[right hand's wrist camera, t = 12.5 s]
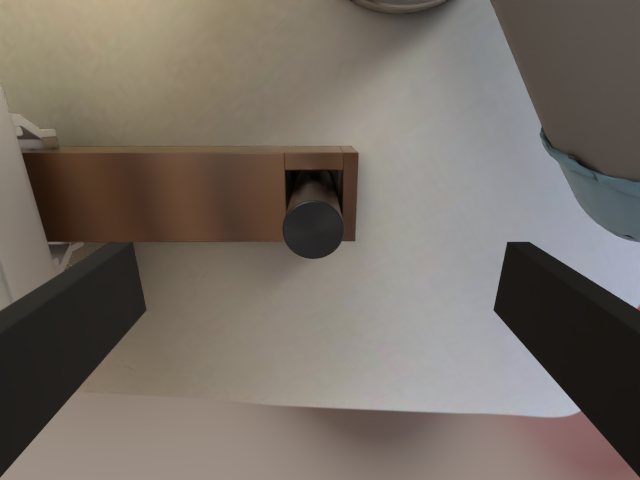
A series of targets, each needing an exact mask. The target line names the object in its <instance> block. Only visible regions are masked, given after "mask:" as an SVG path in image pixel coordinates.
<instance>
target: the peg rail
mask: <svg viewBox="0 0 640 480" xmlns="http://www.w3.org/2000/svg"><path fill="white" fill-rule="evenodd" d="M21 153H22V156H23V160H24V163H25V167H26V170H27V174H28V177H29V180H30V184H31V187H32V191H33V194H34V198H35V201H36V205H37V208H38V211H39V215H40V218H41V222H42V225H43V229H44V232H45V236H46V239H47V242H231V241H285V240H284V237H283V231H282V229H283V222H284V219H285V215H286V212H287V209H288V206H289V202H290V199H291V170H339V189H338V202H339V207H340V211H341V215H342V219H343V223H344V236H343V239H342V241H355V232H356V205H357V178H358V152H357V151H356V150H355V149H354V148H353V147H352V146H59V149H52V150H21Z"/></svg>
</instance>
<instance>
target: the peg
mask: <svg viewBox="0 0 640 480" xmlns="http://www.w3.org/2000/svg"><path fill="white" fill-rule="evenodd" d="M282 231H283V237H284V240H285V242H286V244H287V245H288V247H289V248H290V249H291V250H292V251H293V252H294V253H296V254H298V255H299V256H302V257H305V258H309V259H317V258H322V257H325V256H327V255H329V254H331V253H332V252H334V251H335V250H336V249H337V248H338V246H339V245H340V243H341V242H342V239H343V236H344V223H343V219H342V215H341V211H340V207H339V202H338V198H337V194H336V190H335V186H334V182H333V179H332V176H331V175H330V173H329V172H328V171H327V170H303V171H302V172H301V173H300V174H299V175H298V177H297V180H296V183H295V186H294V190H293V193H292V196H291V199H290V202H289V206H288V209H287V212H286V215H285V219H284V222H283V229H282Z"/></svg>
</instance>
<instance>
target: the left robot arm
mask: <svg viewBox="0 0 640 480" xmlns="http://www.w3.org/2000/svg"><path fill="white" fill-rule="evenodd" d="M52 149H59V144H58V140H57V136H56V132H55V129H39V128H38V127H37V126H35V125H34V124H32V123H31V122H29V121H28V120H27V119H25V118H24V117H22V116H21V115H19V114H18V113H10V111H9V108H8V104H7V101H6V98H5V94H4V91H3V87H2V84H1V80H0V311H1V310H2V309H4V308H6V307H7V306H9V305H10V304H12V303H14V302H15V301H17V300H18V299H20V298H22V297H23V296H25V295H26V294H28V293H30V292H31V291H33V290H34V289H36V288H38V287H39V286H41V285H42V284H44V283H46V282H47V281H49V280H51V279H52V278H54V277H55V276H57V275H59V274H60V273H62V272H63V271H64V270H65V268H66V266H67V264H68V262H69V260H70V258H71V255H72V252H73V251H74V250H76V249H78V248H80V247H81V246H83V245H84V243H83V242H47V239H46V236H45V232H44V229H43V225H42V222H41V218H40V215H39V211H38V208H37V205H36V201H35V198H34V194H33V191H32V187H31V184H30V180H29V177H28V174H27V170H26V167H25V163H24V160H23V156H22V153H21V150H52Z"/></svg>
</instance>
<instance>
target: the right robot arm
mask: <svg viewBox="0 0 640 480" xmlns="http://www.w3.org/2000/svg"><path fill="white" fill-rule="evenodd" d="M351 1H353V2H354V3H356V4H358V5H360V6H363V7H365V8H368V9H371V10H374V11H378V12H384V13H393V14H403V13H413V12H419V11H422V10H426V9H429V8H432V7H434V6H437V5H439V4H441V3H443V2H445V1H447V0H351ZM490 1H491V3H492V6H493V8H494V10H495V13H496V15H497V17H498V20H499V22H500V25H501V27H502V30H503V32H504V35H505V37H506V39H507V42H508V44H509V47H510V49H511V52H512V54H513V56H514V59H515V61H516V64H517V66H518V69H519V71H520V74H521V76H522V78H523V81H524V83H525V86H526V88H527V91H528V93H529V95H530V98H531V100H532V103H533V105H534V108H535V110H536V113H537V115H538V117H539V120H540V122H541V125H542V128H541V132H540V137H541V140H542V143H543V145H544V147H545V149H546V150H547V152H548V153H549V154H550V156H552V157H553V158H554V159H555V160H556V161H558V163H559V165H560V167H561V169H562V171H563V173H564V175H565V177H566V179H567V181H568V183H569V185H570V187H571V189H572V191H573V193H574V195H575V197H576V199H577V201H578V203H579V204H580V206H581V207H582V208H583V210H584V211H585V212H586V213H587V214H588V215H589V216H590V217H591V218H592V219H593V220H594V221H595V222H596V223H598V224H599V225H601V226H602V227H603V228H605V229H606V230H608V231H609V232H611V233H613V234H614V235H616V236H619V237H621V238H624V239H627V240H630V241H636V242H640V0H490ZM145 311H146V306H145V301H144V296H143V291H142V286H141V281H140V276H139V271H138V266H137V261H136V256H135V251H134V246H133V242H110V243H108V244H107V245H105V246H103V247H102V248H100V249H99V250H97V251H95V252H94V253H92V254H91V255H89V256H87V257H86V258H84V259H83V260H81V261H79V262H78V263H76V264H75V265H73V266H71V267H70V268H68V269H67V270H65V271H63V272H62V273H60V274H59V275H57V276H55V277H54V278H52V279H51V280H49V281H47V282H46V283H44V284H42V285H41V286H39V287H38V288H36V289H34V290H33V291H31V292H30V293H28V294H26V295H25V296H23V297H22V298H20V299H18V300H17V301H15V302H14V303H12V304H10V305H9V306H7V307H6V308H4V309H2V310H1V311H0V477H1V476H2V475H3V474H4V472H5V471H6V470H7V469H8V468H9V467H10V466H11V465H12V463H13V462H14V461H15V460H16V459H17V458H18V457H19V455H20V454H21V453H22V452H23V451H24V450H25V449H26V447H27V446H28V445H29V444H30V443H31V442H32V440H33V439H34V438H35V437H36V436H37V435H38V434H39V432H40V431H41V430H42V429H43V428H44V427H45V426H46V424H47V423H48V422H49V421H50V420H51V419H52V418H53V416H54V415H55V414H56V413H57V412H58V411H59V410H60V408H61V407H62V406H63V405H64V404H65V403H66V402H67V400H68V399H69V398H70V397H71V396H72V395H73V394H74V392H75V391H76V390H77V389H78V388H79V387H80V386H81V384H82V383H83V382H84V381H85V380H86V379H87V378H88V376H89V375H90V374H91V373H92V372H93V371H94V370H95V368H96V367H97V366H98V365H99V364H100V363H101V362H102V360H103V359H104V358H105V357H106V356H107V355H108V354H109V352H110V351H111V350H112V349H113V348H114V347H115V346H116V344H117V343H118V342H119V341H120V340H121V339H122V338H123V336H124V335H125V334H126V333H127V332H128V331H129V330H130V328H131V327H132V326H133V325H134V324H135V323H136V322H137V320H138V319H139V318H140V317H141V316H142V315H143V314H144V312H145ZM494 311H495V312H496V314H497V315H498V316H499V317H500V318H501V319H502V320H503V322H504V323H505V324H506V325H507V326H508V327H509V328H510V330H511V331H512V332H513V333H514V334H515V335H516V336H517V338H518V339H519V340H520V341H521V342H522V343H523V344H524V346H525V347H526V348H527V349H528V350H529V351H530V352H531V354H532V355H533V356H534V357H535V358H536V359H537V360H538V362H539V363H540V364H541V365H542V366H543V367H544V368H545V370H546V371H547V372H548V373H549V374H550V375H551V376H552V378H553V379H554V380H555V381H556V382H557V383H558V384H559V386H560V387H561V388H562V389H563V390H564V391H565V392H566V394H567V395H568V396H569V397H570V398H571V399H572V400H573V402H574V403H575V404H576V405H577V406H578V407H579V408H580V410H581V411H582V412H583V413H584V414H585V415H586V416H587V418H588V419H589V420H590V421H591V422H592V423H593V424H594V426H595V427H596V428H597V429H598V430H599V431H600V432H601V434H602V435H603V436H604V437H605V438H606V439H607V441H608V442H609V443H610V444H611V445H612V446H613V447H614V449H615V450H616V451H617V452H618V453H619V454H620V455H621V456H622V458H623V459H624V460H625V461H626V462H627V463H628V465H629V466H630V467H631V468H632V469H633V470H634V471H635V472H636V474H637V475H638V476H639V477H640V311H639V310H638V309H636V308H634V307H633V306H631V305H630V304H628V303H626V302H625V301H623V300H622V299H620V298H618V297H617V296H615V295H614V294H612V293H610V292H609V291H607V290H606V289H604V288H602V287H601V286H599V285H598V284H596V283H594V282H593V281H591V280H589V279H588V278H586V277H585V276H583V275H581V274H580V273H578V272H577V271H575V270H573V269H572V268H570V267H569V266H567V265H565V264H564V263H562V262H561V261H559V260H557V259H556V258H554V257H553V256H551V255H549V254H548V253H546V252H545V251H543V250H541V249H540V248H538V247H537V246H535V245H533V244H532V243H530V242H507V246H506V251H505V256H504V261H503V266H502V271H501V276H500V281H499V286H498V291H497V296H496V301H495V306H494Z"/></svg>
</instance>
